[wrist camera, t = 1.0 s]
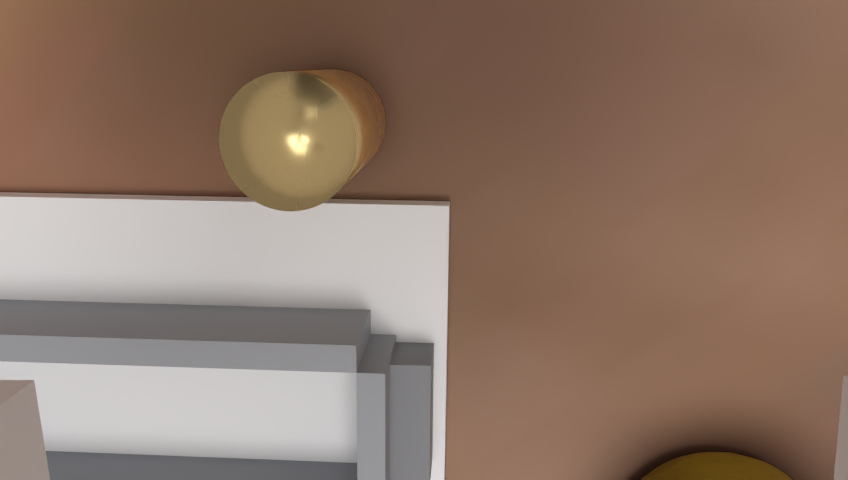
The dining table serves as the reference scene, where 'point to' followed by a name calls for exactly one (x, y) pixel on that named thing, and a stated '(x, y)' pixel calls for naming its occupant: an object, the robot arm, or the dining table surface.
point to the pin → (300, 136)
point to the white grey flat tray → (229, 335)
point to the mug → (715, 468)
